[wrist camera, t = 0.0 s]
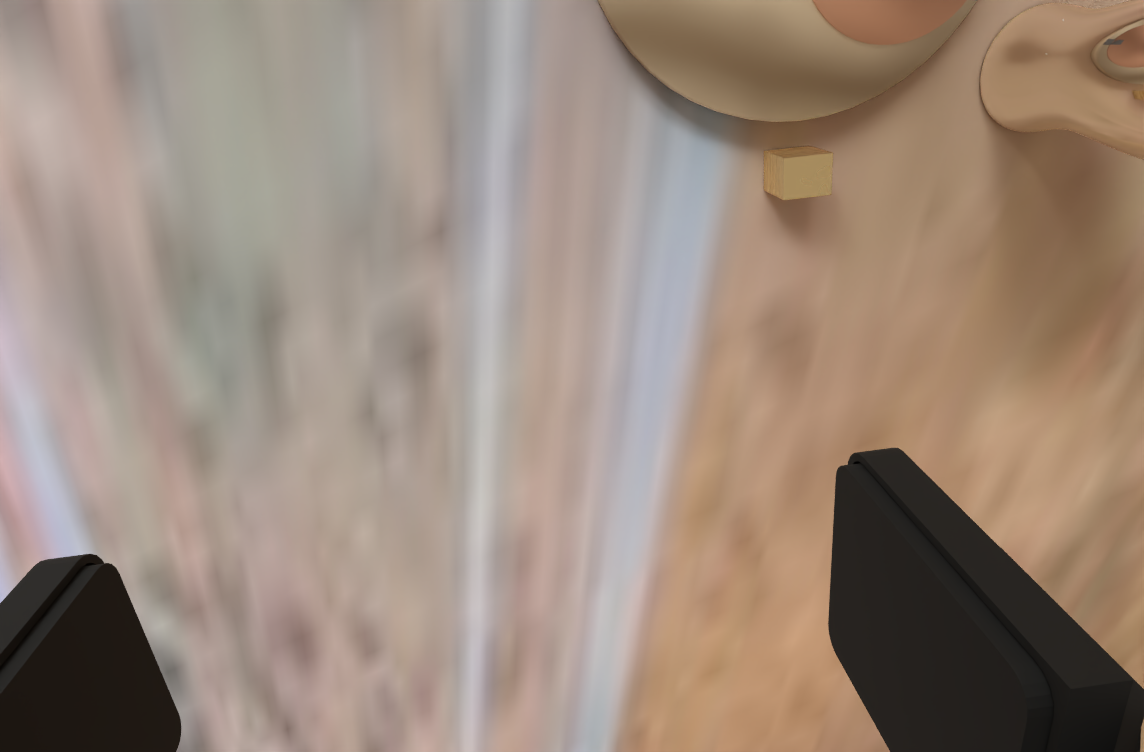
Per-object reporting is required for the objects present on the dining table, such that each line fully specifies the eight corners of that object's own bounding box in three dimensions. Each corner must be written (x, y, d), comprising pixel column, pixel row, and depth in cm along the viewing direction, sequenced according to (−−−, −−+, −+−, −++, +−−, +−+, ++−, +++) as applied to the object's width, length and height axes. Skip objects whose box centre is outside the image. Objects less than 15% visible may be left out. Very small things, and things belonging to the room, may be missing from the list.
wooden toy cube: (764, 151, 39) (784, 158, 36) (809, 145, 39) (833, 152, 36) (763, 190, 40) (783, 200, 37) (808, 184, 40) (831, 194, 37)
